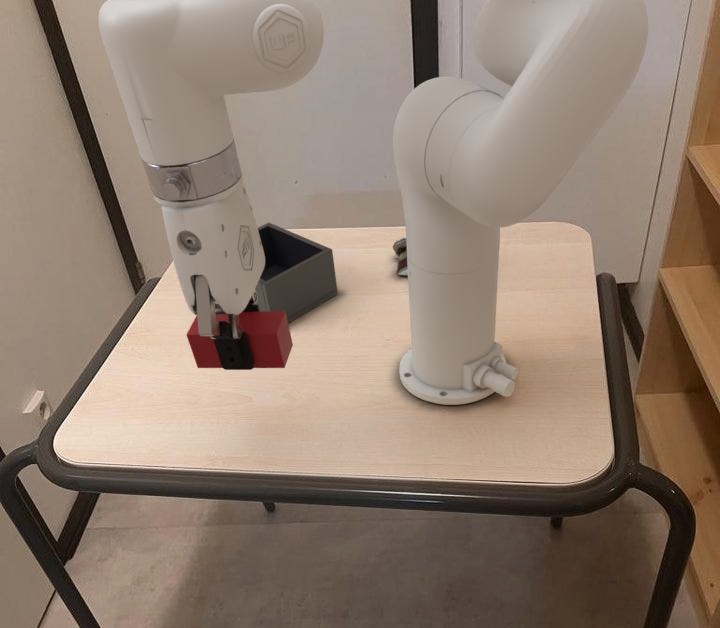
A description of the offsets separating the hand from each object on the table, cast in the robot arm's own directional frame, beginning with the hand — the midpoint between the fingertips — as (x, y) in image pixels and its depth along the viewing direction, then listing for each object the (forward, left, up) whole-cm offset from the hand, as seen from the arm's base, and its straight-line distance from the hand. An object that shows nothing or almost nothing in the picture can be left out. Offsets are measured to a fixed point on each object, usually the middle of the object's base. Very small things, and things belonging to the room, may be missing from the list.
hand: (244, 352), depth 72 cm
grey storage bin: (+23, -20, -12) cm, 33 cm away
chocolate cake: (+10, -38, -12) cm, 42 cm away
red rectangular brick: (0, 0, 0) cm, 1 cm away
